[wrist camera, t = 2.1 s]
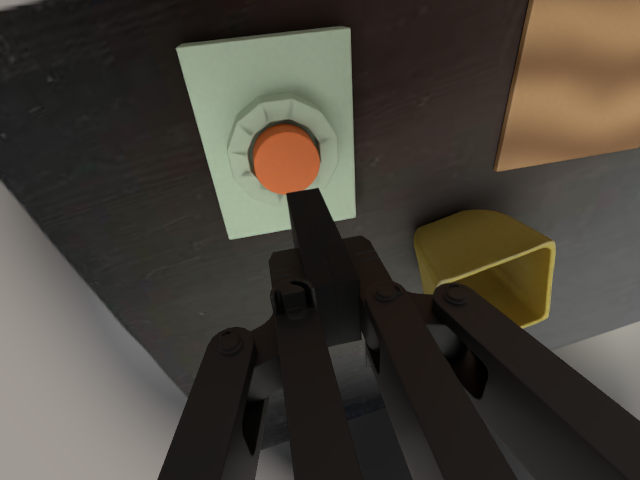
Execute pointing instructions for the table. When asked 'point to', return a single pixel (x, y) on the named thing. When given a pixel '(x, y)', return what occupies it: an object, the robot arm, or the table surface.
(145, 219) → the table surface
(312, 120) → the green button base
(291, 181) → the round orange button
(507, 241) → the flower pot
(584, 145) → the brown wooden board
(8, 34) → the table surface
